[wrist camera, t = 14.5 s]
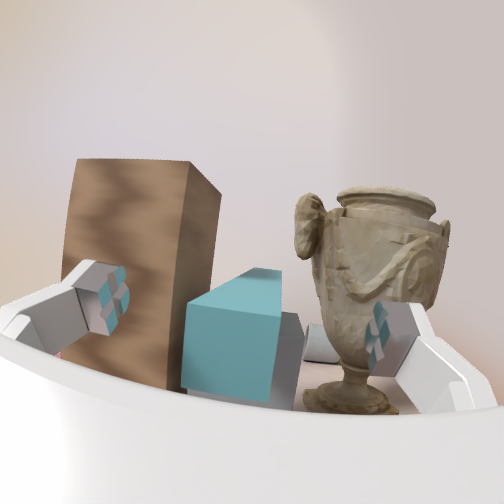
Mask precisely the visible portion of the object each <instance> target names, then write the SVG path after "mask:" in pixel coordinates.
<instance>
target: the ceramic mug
mask: <svg viewBox="0 0 504 504" xmlns="http://www.w3.org/2000/svg"><path fill="white" fill-rule="evenodd" d="M302 360H308V361H317V362H327V363H338V362H340V360H341V357H340V356H339V355H338V354H337V352H336V351H335V350H334V348H333V347H332V345H331V343H330V342H329V340H328V338H327V335H326V332H325V329H324V326H321V325H316V324H311V323H310V324H309V325H308V326H307V329H306V333H305V341H304V347H303V353H302Z"/></svg>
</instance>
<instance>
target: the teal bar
mask: <svg viewBox="0 0 504 504" xmlns="http://www.w3.org/2000/svg"><path fill="white" fill-rule="evenodd" d="M281 275H282V271H279V270H271V269H263V268H253V269H251V270H249V271H247V272H245V273H243V274H242V275H240V276H238V277H236V278H234V279H232V280H230V281H228V282H226V283H224V284H223V285H221V286H219V287H217V288H215V289H213V290H211V291H209V292H207V293H205V294H204V295H202V296H200V297H198V298H196V299H194V300H192V301H190V302H188V303H187V310H186V321H185V333H184V345H183V358H182V372H181V387H182V388H187V389H191V390H196V391H201V392H206V393H212V394H217V395H223V396H228V397H234V398H241V399H247V400H254V401H261V402H268V400H269V394H270V388H271V381H272V375H273V369H274V362H275V356H276V349H277V343H278V336H279V329H280V322H281V291H282V290H281V288H282V287H281V286H282V285H281V284H282V281H281V279H282V276H281Z"/></svg>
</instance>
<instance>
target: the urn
mask: <svg viewBox="0 0 504 504" xmlns="http://www.w3.org/2000/svg"><path fill="white" fill-rule="evenodd" d="M337 201H338V202H339V203H341V206H342V207H344V208H335V209H333V210H331V211H329V212H326V210H325V209H324V206H323V203H322V201H321V200H320V199H319V197H318V196H317V195H315V194H312V193H310V192H309V193H306V194H305V195H303V196H302V197H300V198H299V200H298V202H297V204H296V210H295V238H294V245H295V250H296V253H297V256H298V257H299V258H301V259H302V260H307V259H309V258H311V261H312V274H313V278H314V282H315V286H316V292H317V296H318V297H319V301H320V306H321V314H322V320H323V325H324V329H325V332H326V335H327V338H328V340H329V342H330V343H331V345H332V347H333V348H334V350H335V351H336V352H337V354H338V355H339V356H340V357H341V360H340V365H341V366H342V369H343V370H344V379H343V381H334V382H330V383H325V384H322V385H320V386H319V387H318V388H317V389H306V390H305V391H304V393H303V401H304V404H305V405H306V406H307V407H308V409H309V410H310V411H311V413H326V414H347V415H399V411H398V410H397V409H395V408H394V407H393V406H391V405H389V404H388V398H387V397H386V395H385V394H383V393H382V392H381V391H379V390H378V389H376V388H374V387H372V386H370V385H367V379H368V377H369V376H370V372H369V366H368V357H369V355H370V353H369V352H368V351H367V350H366V348H365V332H366V328H367V325H368V322H369V321H370V320H371V319H372V318H374V313H373V309H374V306H375V304H376V302H377V301H378V300H379V301H390V302H401V303H406V302H408V303H420V304H421V305H423V308H424V310H425V312H426V311H427V310H428V309H429V308H431V307H432V306H433V304H434V301H435V298H436V295H437V292H438V287H439V283H440V280H441V277H442V273H443V269H444V264H445V259H446V251H447V248H448V247H449V246H448V242H449V235H450V222H449V220H444V221H442V222H441V224H440V225H438V224H436V223H434V222H431V221H429V219H430V217H431V216H432V215H433V214H434V213H435V212H436V208H435V204H434V203H433V202H432V201H431V200H429V199H428V198H427V197H424V196H422V195H420V194H418V193H415V192H412V191H408V190H404V189H400V188H394V187H386V186H359V187H353V188H348V189H345V190H343V191H341V192H340V193H339V194H338V196H337Z"/></svg>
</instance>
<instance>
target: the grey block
mask: <svg viewBox="0 0 504 504" xmlns="http://www.w3.org/2000/svg"><path fill="white" fill-rule="evenodd" d="M304 341H305V336H304V333H303V330H302V327H301V324H300V320H299V317H298V314H296V313H288V312H281V322H280V329H279V336H278V343H277V349H276V356H275V362H274V369H273V375H272V381H271V388H270V394H269V400H268V402H261V401H254V400H247V399H241V398H234V397H228V396H223V395H217V394H212V393H206V392H201V391H196V390H191V389H187V395H191V396H196V397H201V398H206V399H211V400H217V401H222V402H228V403H235V404H241V405H248V406H255V407H262V408H270V409H279V410H289V411H292V407H293V402H294V397H295V392H296V387H297V381H298V376H299V370H300V365H301V359H302V353H303V347H304Z"/></svg>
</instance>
